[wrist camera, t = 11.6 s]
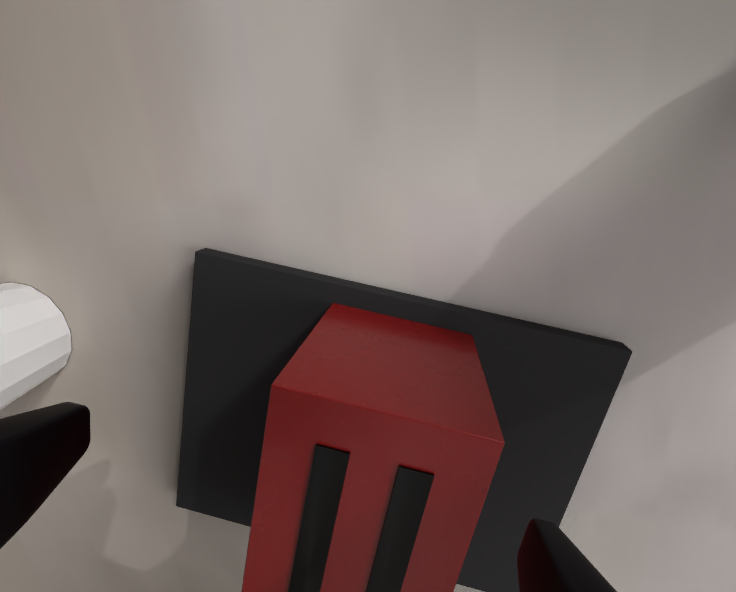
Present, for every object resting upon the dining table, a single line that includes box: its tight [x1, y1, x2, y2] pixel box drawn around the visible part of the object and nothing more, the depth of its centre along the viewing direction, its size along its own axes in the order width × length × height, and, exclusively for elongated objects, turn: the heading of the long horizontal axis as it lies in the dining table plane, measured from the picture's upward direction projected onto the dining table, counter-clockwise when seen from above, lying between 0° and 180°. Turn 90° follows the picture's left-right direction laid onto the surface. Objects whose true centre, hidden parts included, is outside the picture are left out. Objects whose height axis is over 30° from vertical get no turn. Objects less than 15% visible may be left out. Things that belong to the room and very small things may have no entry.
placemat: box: [176, 248, 632, 592], centre depth 21 cm, size 20×15×1 cm
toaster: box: [241, 303, 505, 592], centre depth 17 cm, size 13×6×8 cm, turn 169°
